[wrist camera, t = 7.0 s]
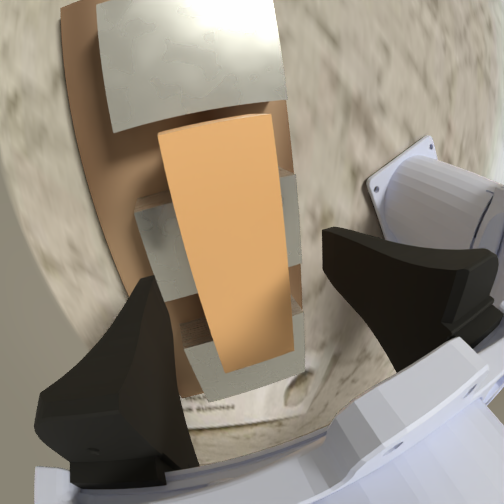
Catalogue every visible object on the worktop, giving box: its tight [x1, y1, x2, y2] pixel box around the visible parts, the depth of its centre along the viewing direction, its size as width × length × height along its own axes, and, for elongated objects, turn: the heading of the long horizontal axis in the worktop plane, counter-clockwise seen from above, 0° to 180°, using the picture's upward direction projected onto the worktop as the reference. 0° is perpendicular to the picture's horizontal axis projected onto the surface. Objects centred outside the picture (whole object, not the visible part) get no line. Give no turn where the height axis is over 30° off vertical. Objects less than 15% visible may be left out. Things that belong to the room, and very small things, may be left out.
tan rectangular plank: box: [158, 114, 294, 373], centre depth 14 cm, size 4×12×6 cm, turn 8°
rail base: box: [61, 0, 302, 398], centre depth 17 cm, size 12×30×1 cm, turn 8°
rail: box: [96, 0, 305, 402], centre depth 15 cm, size 8×26×2 cm, turn 8°
